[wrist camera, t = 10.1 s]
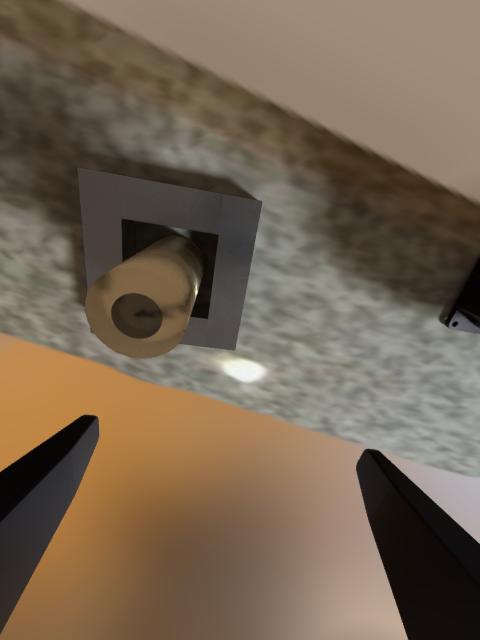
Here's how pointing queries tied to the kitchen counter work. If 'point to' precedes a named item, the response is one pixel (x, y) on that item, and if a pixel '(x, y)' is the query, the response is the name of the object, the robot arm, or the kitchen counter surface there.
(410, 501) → the robot arm
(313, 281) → the kitchen counter surface
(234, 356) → the kitchen counter surface
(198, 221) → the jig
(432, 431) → the kitchen counter surface
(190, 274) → the bushing
